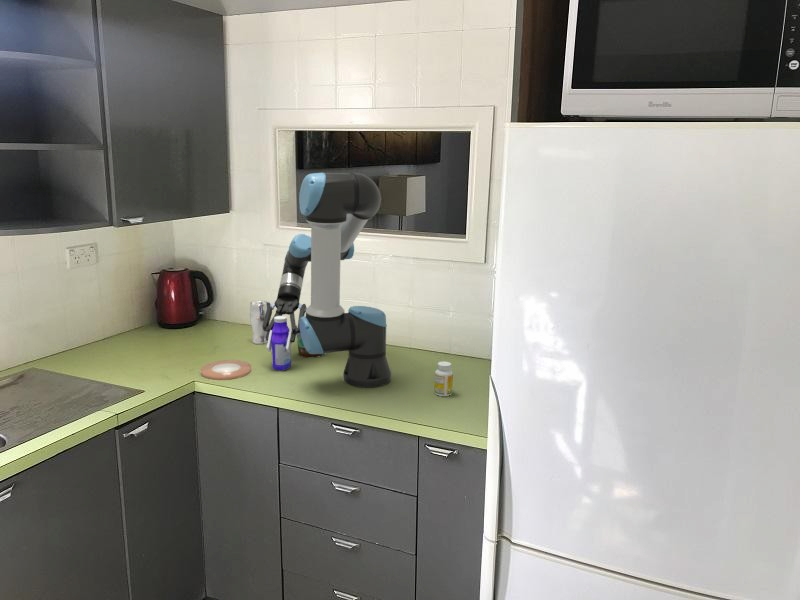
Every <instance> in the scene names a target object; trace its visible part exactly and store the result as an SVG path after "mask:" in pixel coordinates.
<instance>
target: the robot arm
mask: <svg viewBox="0 0 800 600" xmlns="http://www.w3.org/2000/svg"><path fill="white" fill-rule="evenodd" d="M298 198H299V199H298V203H299V211H300V213H301V215H303V216H305V221H306V222H307V223H308V224H309V226H310V229H311V230H310V235H311V236H310V235H307V234H305V233H299V234H296V235H295V236H294V237H293V238H292V240H291V242H290V243H289V247H288V250H287V252H286V254H285V257H284V263H283V267H282V273H281V277H280V282H279V287H278V291H277V297H276V300H275V301H274V302H271V303H270V302H269V301H267V302H268V303H267V311H266V314H265V318H264V322H263V325H262V328H263V330H264V331H266V332H267V334H266V340H267V341H268V343H266V350H267V351H268V352H271V353H272V343H271V339H272V335H273V332H272V329H273V327H274V317H276V316H284V315H288V316H289V319H290V321H289V322H290V326H291V330H289V335H288V340H287V345H286V350H287V352H289V353H290V349H291V350H292V343H296V342H295V341H296V339H297V336H296V334H297V333H301V338H302V341H303V344H304V347H305V349H306V350H307V352H308V353H310V354H324V355H325V354H331V353H333V354H334V353H340V352H348V357H347V360H346V361H347V362H346V363H345V364H346V365H345V366H344V370H343V373H342V374H343V382H344V383H346V384H347V385H349V386H353V387H359V388H377V387H382V386H385V385H388V384H389V383H390V382H391V380H392V371H391V369H390V364H389V362H388V359H387V345H386V344H387V327H388V325H387V315H386V313H385V312H384V311H383V310H382V309H379V308H377V307H371V306H367V305H366V306H365V305H353V306H350V307H349V308H348V310H347V312H345V308H343V306H341V303H340V302H341V301H340V299H341V297H340V296H341V261H345V260H351V259H352V258H353V257H354V253H355V243H354V242H355V240H356V239H357V238H358V236H359V234H360V233H361V231H362V230H363V228H364V227H365V225H366V224H367V222H368V220H371V219H373V218H374V217H375V215H376V214H377V213H378V211H379V210H380V207H381V203H382V202H381V201H382V197H381V191H380V189H379V187H378V186H377V184H376V183H375V181H373V179H372V178H370V177H369V176H367V175H365V174H363V173H360V172H359V173H358V172H315V173H314V172H313V173H309V174H307V175H305V177H304V178H303V179H302V182H301V185H300V190H299V197H298ZM309 262H310V305H309V306H307V305H306V303H302V304H301V303H300V299H301V294H302V288H303V283H304V277H305V272H306V268H307V266H308V263H309ZM275 308H276V309H275ZM274 309H275V313H274V315H273V311H274ZM297 310H299V312H298V320H297V323H296V318H295V317H296V316H295V312H296V311H297ZM272 315H273V317H272ZM296 325H297V328H296Z"/></svg>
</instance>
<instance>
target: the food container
mask: <svg viewBox="0 0 800 600" xmlns="http://www.w3.org/2000/svg"><path fill="white" fill-rule="evenodd" d="M296 328H298V324H296ZM296 343H297V349H298V355H299V356H300V357H302V356H303V358H308V357H314V358H319V357H318V356H320V357H322V355H323V356H324V355H325V354H310V353H308V352H307V350H306V349H305V347H304V344H303V341H302V338H301V333H297V334H296Z"/></svg>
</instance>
